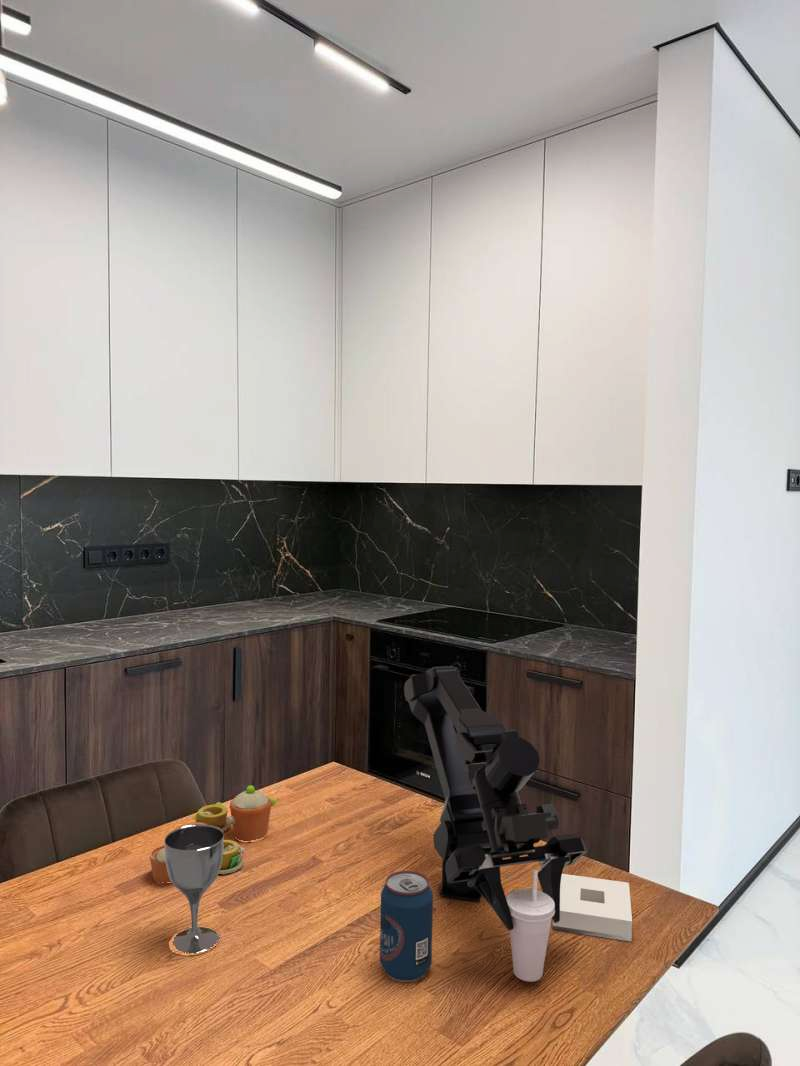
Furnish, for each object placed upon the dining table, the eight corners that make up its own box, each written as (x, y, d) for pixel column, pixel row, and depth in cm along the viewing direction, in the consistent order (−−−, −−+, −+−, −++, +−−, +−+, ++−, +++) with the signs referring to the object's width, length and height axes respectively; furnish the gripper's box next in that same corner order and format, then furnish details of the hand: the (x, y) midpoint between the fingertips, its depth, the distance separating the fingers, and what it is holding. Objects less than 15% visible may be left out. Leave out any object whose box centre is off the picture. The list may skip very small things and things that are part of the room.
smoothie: (552, 991, 97) (556, 884, 96) (501, 984, 98) (504, 878, 97) (553, 960, 103) (556, 859, 102) (504, 954, 104) (507, 854, 103)
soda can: (369, 964, 103) (370, 877, 102) (410, 946, 107) (412, 863, 106) (400, 992, 98) (401, 901, 97) (442, 972, 102) (444, 884, 101)
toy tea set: (203, 818, 148) (203, 768, 147) (280, 825, 145) (280, 775, 144) (133, 887, 122) (132, 828, 122) (225, 898, 119) (225, 837, 119)
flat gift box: (552, 929, 112) (553, 909, 112) (556, 891, 123) (556, 872, 122) (631, 941, 109) (632, 921, 109) (628, 901, 120) (628, 882, 120)
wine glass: (234, 931, 110) (234, 829, 109) (202, 963, 103) (202, 854, 102) (186, 920, 113) (186, 820, 112) (152, 950, 105) (152, 844, 104)
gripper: (454, 789, 100) (486, 918, 90) (582, 776, 105) (624, 896, 96) (433, 822, 108) (459, 943, 98) (552, 808, 113) (589, 921, 104)
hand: (534, 925), depth 99 cm, fingers closed on smoothie, 6 cm apart
